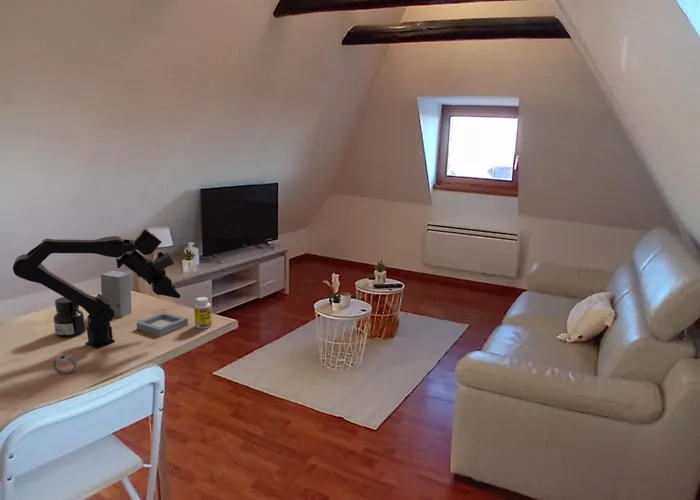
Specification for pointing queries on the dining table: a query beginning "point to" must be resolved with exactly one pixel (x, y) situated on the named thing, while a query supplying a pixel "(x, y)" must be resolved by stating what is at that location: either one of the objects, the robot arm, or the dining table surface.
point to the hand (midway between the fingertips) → (177, 293)
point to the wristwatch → (64, 358)
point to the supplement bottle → (202, 313)
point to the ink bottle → (68, 318)
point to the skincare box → (117, 291)
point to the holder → (162, 324)
